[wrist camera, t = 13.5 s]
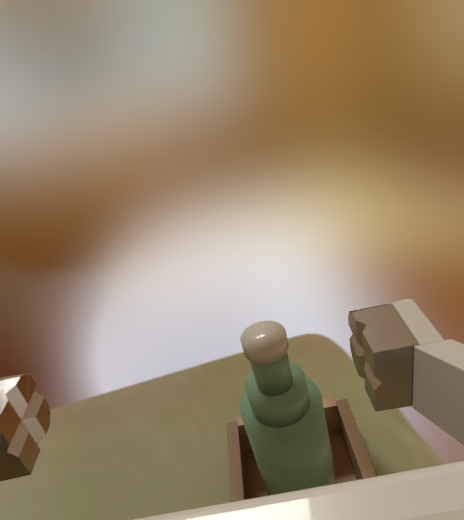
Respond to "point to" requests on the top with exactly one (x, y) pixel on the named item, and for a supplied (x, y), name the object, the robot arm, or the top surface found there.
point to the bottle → (283, 415)
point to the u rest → (341, 440)
